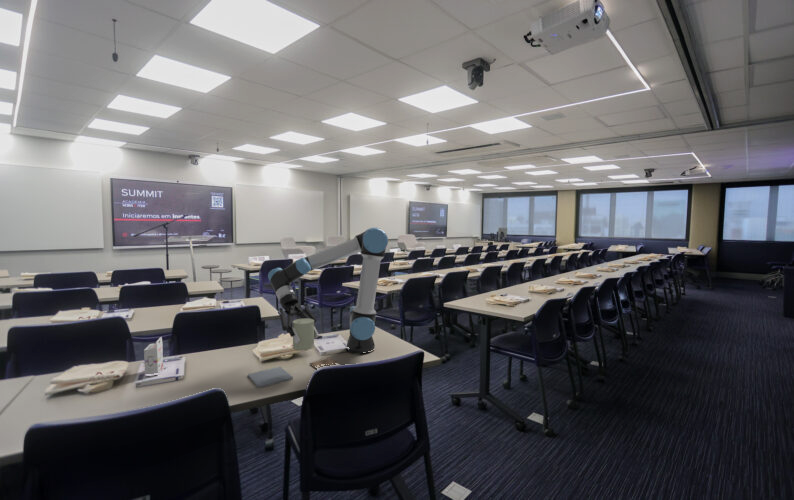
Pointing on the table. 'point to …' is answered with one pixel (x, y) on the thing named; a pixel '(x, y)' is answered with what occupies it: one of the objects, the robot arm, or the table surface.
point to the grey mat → (269, 377)
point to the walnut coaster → (324, 362)
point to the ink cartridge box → (154, 357)
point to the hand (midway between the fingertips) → (307, 339)
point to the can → (304, 333)
